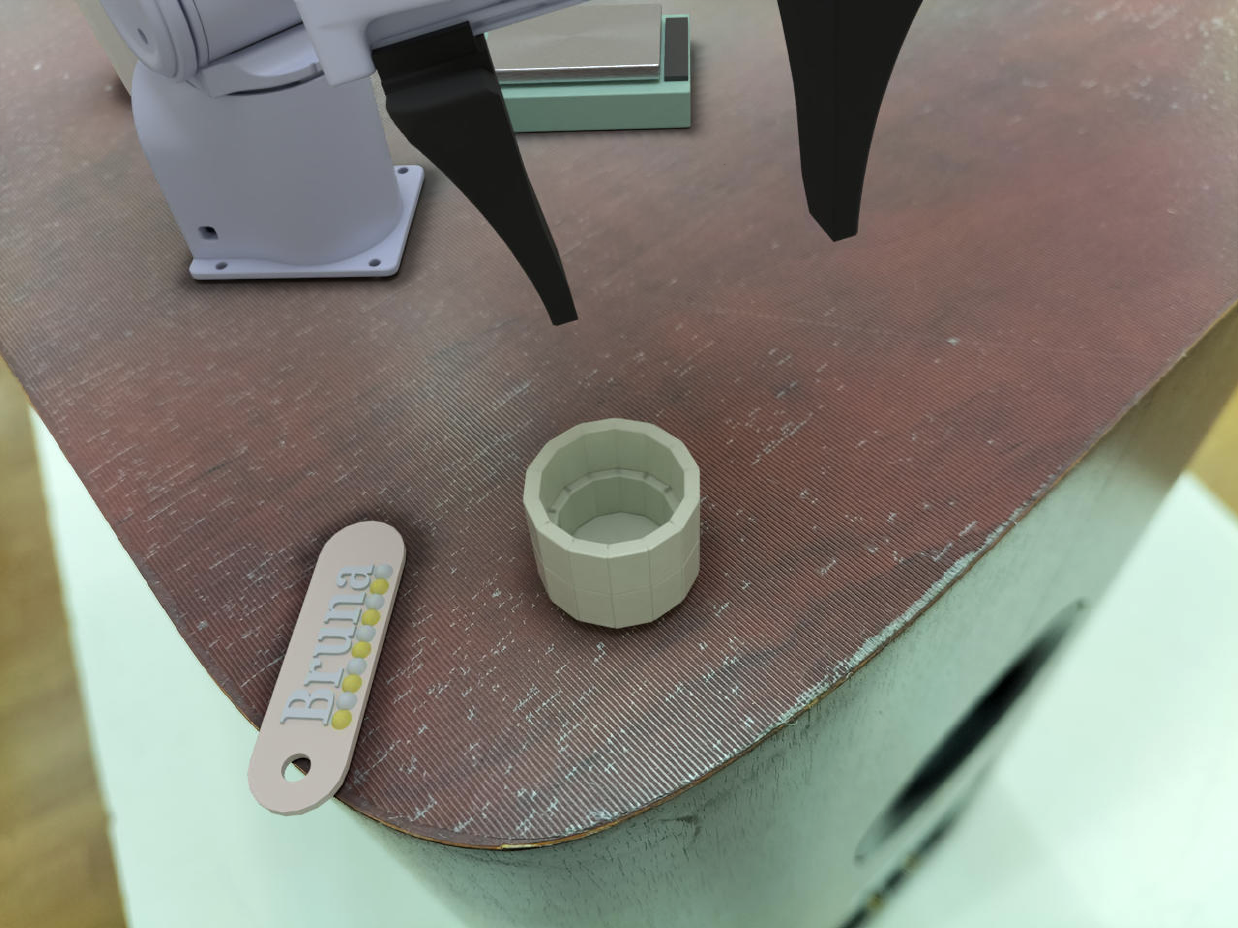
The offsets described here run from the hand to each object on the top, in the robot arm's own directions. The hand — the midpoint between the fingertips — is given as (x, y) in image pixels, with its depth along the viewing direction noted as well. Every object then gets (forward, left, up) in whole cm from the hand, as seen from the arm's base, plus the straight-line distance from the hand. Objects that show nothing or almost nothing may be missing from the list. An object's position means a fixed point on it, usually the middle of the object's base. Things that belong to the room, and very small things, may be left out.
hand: (697, 265), depth 27 cm
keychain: (-10, -6, -10) cm, 16 cm away
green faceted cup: (-3, -2, -11) cm, 11 cm away
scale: (-6, +28, -11) cm, 31 cm away
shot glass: (-29, +31, -11) cm, 44 cm away
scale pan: (-6, +28, -9) cm, 30 cm away
